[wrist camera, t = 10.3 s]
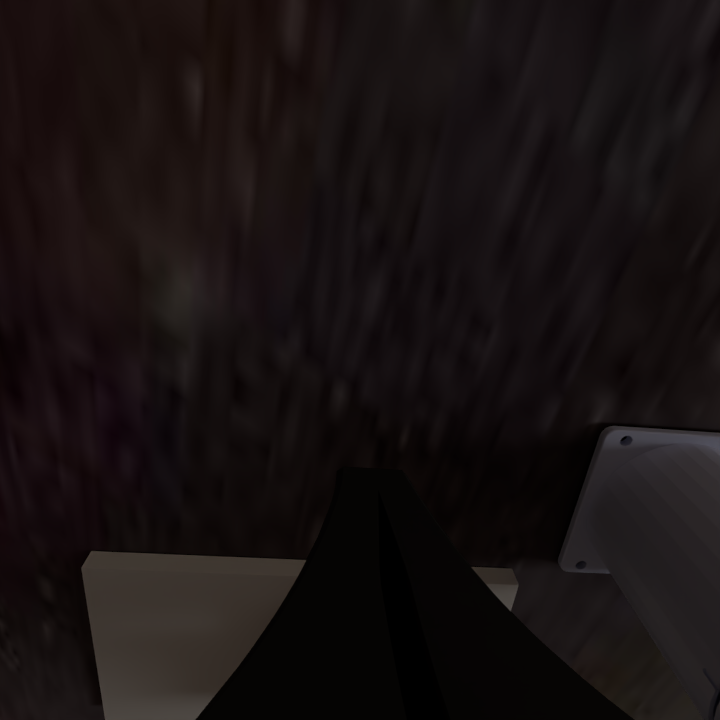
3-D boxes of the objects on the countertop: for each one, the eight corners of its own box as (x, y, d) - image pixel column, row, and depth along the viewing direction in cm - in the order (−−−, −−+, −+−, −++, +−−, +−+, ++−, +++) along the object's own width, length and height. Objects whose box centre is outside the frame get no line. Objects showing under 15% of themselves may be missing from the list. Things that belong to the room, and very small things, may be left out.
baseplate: (511, 568, 25) (518, 584, 24) (470, 710, 29) (474, 729, 28) (91, 550, 23) (81, 567, 22) (113, 704, 27) (106, 723, 26)
